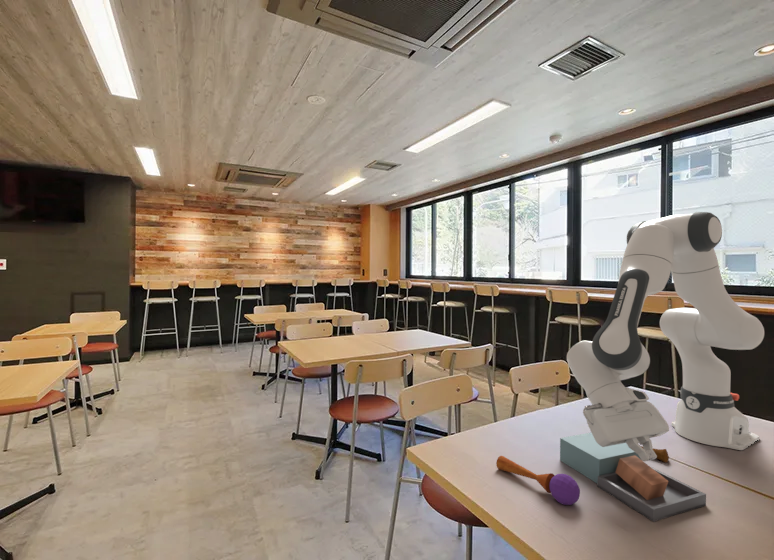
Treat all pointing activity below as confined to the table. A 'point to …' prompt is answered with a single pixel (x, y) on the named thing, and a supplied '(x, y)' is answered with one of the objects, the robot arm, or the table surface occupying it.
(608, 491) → the box
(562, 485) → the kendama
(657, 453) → the primitive tool
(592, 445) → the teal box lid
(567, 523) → the table surface
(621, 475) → the terracotta block
